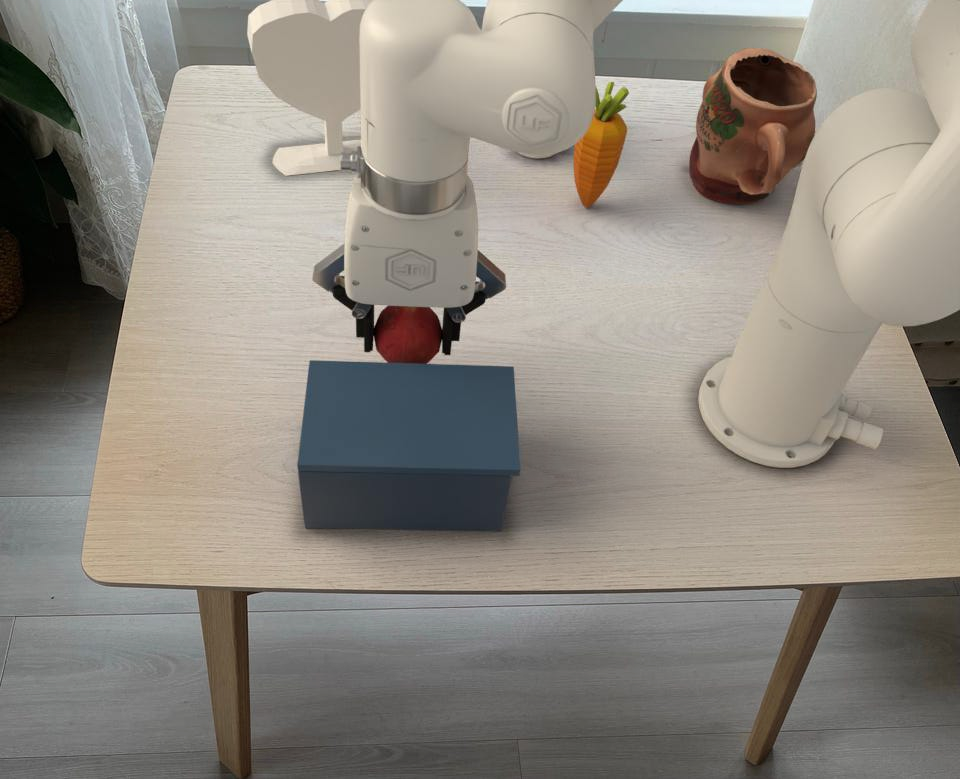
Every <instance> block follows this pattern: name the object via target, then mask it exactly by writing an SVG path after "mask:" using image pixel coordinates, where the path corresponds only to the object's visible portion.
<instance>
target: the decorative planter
mask: <svg viewBox="0 0 960 779" xmlns="http://www.w3.org/2000/svg"><path fill="white" fill-rule="evenodd" d="M817 96H818V90H817V84H816V80H815V78H814V77H813V76H812V74H810V72H809V71H808V70H807V69H805V68H804V67H803V65H802V64H801V63H798V62H795V61H793V60H790V59H788V58H786V57H784V56H782V55H781V54H779V53H777V52H775V51H774V50H772V49H767V48H759V47H758V48H757V47H745V48H742V49H740V50H738V51H737V52H736V53H734V54H732V55H730V56H729V57H728V58H727V59H726V60H725V62H724V64H723V66H722V67H721V68H720V69H719V70H718V72H717V71H716V73H714V74H713V75H712V76H711V77H709V78H708V80H706V81H705V83H704V86H703V89H702V97H701V98H702V99H701V100H702V102H701V104H700V106H699V108H698V112H697V115H696V121H695V132H696V137H695V140H694V142H693V144H692V147H691V150H690V154H689V160H688V161H689V162H688V172H689V173H688V174H689V178H690V181H691V183H692V184H693V186H694V188H695V189H696V191H697V192H698V193H700V195H702V196H704V197H706V198H707V199H710V200H713V201H717V202H720V203H725V204H733V205H739V204H740V205H742V204H743V205H745V204H753V203H757V202H760V201H763V200H765V199H766V198H767V197H769V195H771V193H772V192H773V191H775V188H776V187H777V186H778V185H779V184H780V183H781V182H782V181H783V180H784V179H785V178H786V176H788V175H789V173H790V172H791V171H792V170H793V169H794V168H796V167H798V166H799V165H800V164H801V163H802V162H804V159H805V157H806V154H807V151H808V148H809V146H810V144H811V142H812V140H813V138H814V136H815V134H816V117H815V112H814V111H815V110H814V109H815V104H816V101H817Z"/></svg>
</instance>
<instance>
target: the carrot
mask: <svg viewBox="0 0 960 779" xmlns="http://www.w3.org/2000/svg"><path fill="white" fill-rule="evenodd" d="M614 87H615V82H614V81H609V82H607V85H606V87H605V91H604V96H603V98H602V100H601V99H600V94H599V90H598V88H597V87H596V104H595V112H594V116H593V119H592V122H591V124H590V127H589V129H588V130H587V132H586V133H585V135H584V136H583V137H582V138H581V139H580V140H579V141H578V142H577V143H576V144H574V150H573V177H574V184H575V189H576V193H577V195H578V197H579V200H580V202H581V205H582V206H583V207H584V208H586V209H587V208H591V207H592V206H593V205H594V204H595V203H596V202H597V200H598V199H600V197H601V196H602V195H603V193H604V192H605V190H606V189H607V188H608V187H609V184H610V182H611V181H612V178H613V176H614V174H615V172H616V169H617V167H618V165H619V162H620V158H621V155H622V152H623V149H624V145H625V141H626V137H627V133H628V126H627V124H626V123H625V121H624V119H623V117H622V115H621V114H620V112H621V111H623V110H624V109H626V108H627V105H626V104H624V103H623V102H624V101H625V100H626V98H627V97H628V95H630V92H629V89H628V88H627V87H626V86H623V87H621V88H620V89H619V90H618V91H617V93H616V94H615V95H614V97H613V96H612V92H613V90H614Z"/></svg>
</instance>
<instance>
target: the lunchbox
mask: <svg viewBox="0 0 960 779" xmlns="http://www.w3.org/2000/svg"><path fill="white" fill-rule="evenodd" d="M297 475H298V484H299V492H300V499H301V508H302V514H303V515H302V516H303V522H304V523H303V524H304V528H305V529H341V530H342V529H345V530H347V529H348V530H397V531H399V530H402V531H403V530H404V531H405V530H406V531H455V532H457V531H458V532H459V531H460V532H462V531H463V532H502V530H503V524H504V519H505V513H506V508H507V502H508V497H509V492H510V486H511V480H512V476H502V475H457V474H412V473H367V472H321V471H298V470H297Z"/></svg>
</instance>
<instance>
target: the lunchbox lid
mask: <svg viewBox="0 0 960 779" xmlns="http://www.w3.org/2000/svg"><path fill="white" fill-rule="evenodd" d="M515 379H516V378H515V367H514V366H508V365H507V366H505V365H479V364H478V365H477V364H476V365H475V364H474V365H473V364H445V363H444V364H443V363H442V364H441V363H427V364H415V363H388V362H383V361H382V362H379V361H378V362H377V361H350V360H349V361H348V360H346V361H345V360H344V361H343V360H315V359H314V360H313V359H310V360H308V370H307V378H306V386H305V387H306V388H305V394H304V404H303V413H302V420H301V429H300V437H299V438H300V439H299V446H298V455H297V465H296V466H297V472H298V471H321V472H367V473H412V474H457V475H502V476H511V477H512V476H513V477H519V476H520V475H521V471H522V470H521V456H520V454H521V453H520V441H519V439H520V438H519V425H518V409H517V408H518V407H517V395H516V394H517V393H516V380H515Z"/></svg>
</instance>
